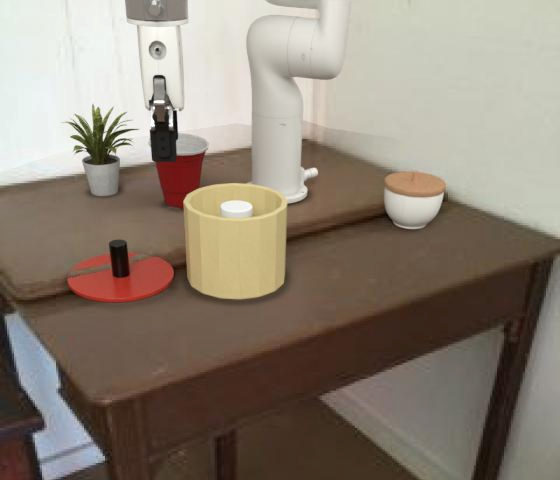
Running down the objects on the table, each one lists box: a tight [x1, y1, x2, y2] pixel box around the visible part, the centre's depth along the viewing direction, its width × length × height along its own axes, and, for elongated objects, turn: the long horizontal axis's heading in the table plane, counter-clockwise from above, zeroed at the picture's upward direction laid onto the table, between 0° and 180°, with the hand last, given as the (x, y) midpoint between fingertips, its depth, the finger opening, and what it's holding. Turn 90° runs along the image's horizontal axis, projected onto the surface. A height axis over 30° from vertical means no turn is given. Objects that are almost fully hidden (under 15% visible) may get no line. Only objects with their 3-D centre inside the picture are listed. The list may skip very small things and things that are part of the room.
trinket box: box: [383, 170, 447, 230], centre depth 125 cm, size 11×11×9 cm
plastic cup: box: [148, 132, 210, 211], centre depth 129 cm, size 11×11×12 cm
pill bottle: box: [220, 200, 253, 218], centre depth 104 cm, size 6×6×11 cm
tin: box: [183, 182, 288, 300], centre depth 103 cm, size 15×15×12 cm
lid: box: [66, 239, 175, 303], centre depth 104 cm, size 16×16×6 cm
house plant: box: [61, 104, 140, 197], centre depth 131 cm, size 14×14×16 cm
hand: (165, 150), depth 95 cm, fingers open, 9 cm apart
